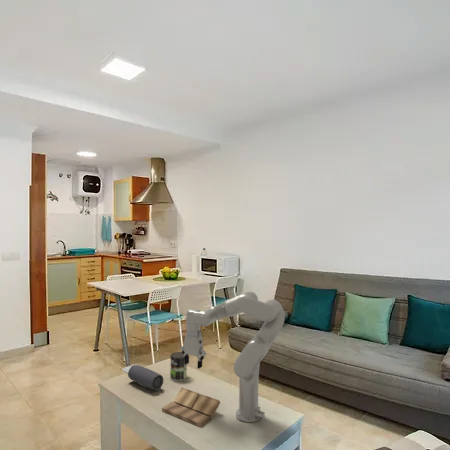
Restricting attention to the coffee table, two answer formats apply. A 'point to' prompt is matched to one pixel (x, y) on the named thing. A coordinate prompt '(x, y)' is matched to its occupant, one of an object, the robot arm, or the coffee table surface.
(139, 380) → the bluetooth speaker
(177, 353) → the coffee can
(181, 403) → the plank far
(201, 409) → the plank near
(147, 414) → the coffee table surface
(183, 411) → the floor plank
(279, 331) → the robot arm
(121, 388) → the coffee table surface
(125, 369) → the baseboard molding
